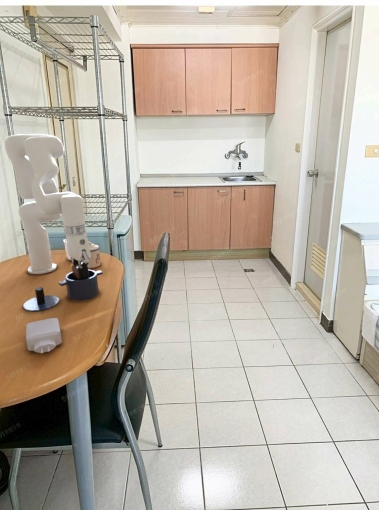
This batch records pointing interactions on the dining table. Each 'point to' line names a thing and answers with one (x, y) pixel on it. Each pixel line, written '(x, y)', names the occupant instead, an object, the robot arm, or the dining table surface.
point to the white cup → (66, 249)
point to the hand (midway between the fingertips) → (81, 275)
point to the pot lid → (40, 301)
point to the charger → (43, 335)
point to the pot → (82, 286)
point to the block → (76, 271)
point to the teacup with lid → (93, 256)
